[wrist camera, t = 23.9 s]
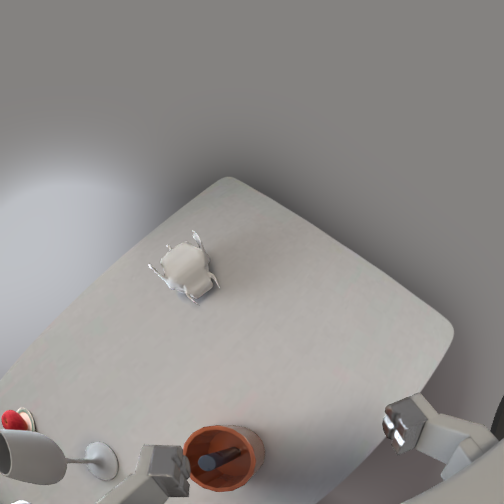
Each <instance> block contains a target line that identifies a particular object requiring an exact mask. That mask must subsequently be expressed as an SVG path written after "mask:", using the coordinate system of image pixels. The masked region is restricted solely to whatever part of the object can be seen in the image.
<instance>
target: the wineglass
mask: <svg viewBox="0 0 504 504" xmlns="http://www.w3.org/2000/svg"><path fill="white" fill-rule="evenodd" d="M68 463H86V464H87V466H88V468H89V470H90V471H91V472H92V474H93V475H95V476H96V477H97V478H99V479H102V480H110V479H113V478H114V477H115V476H116V474H117V472H118V460H117V457H116V455H115V453H114V452H113V450H112V449H111V448H110V447H109V446H108V445H106V444H104V443H102V442H93V443H91V444H89V445H88V447H87V448H86V452H85V459H69V458H65V456H64V453H63V452H62V450H61V449H60V448H59V446H58V445H57V444H56V443H55V442H54V441H53V440H51V439H50V438H48V437H47V436H45V435H43V434H40V433H37V432H33V431H24V430H9V429H0V473H1V474H2V475H4V476H6V477H9V478H12V479H16V480H19V481H23V482H28V483H33V484H39V485H50V484H55V483H57V482H59V481H60V480H61V479H63V477H64V475H65V473H66V470H67V464H68Z"/></svg>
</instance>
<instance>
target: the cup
mask: <svg viewBox="0 0 504 504" xmlns="http://www.w3.org/2000/svg"><path fill="white" fill-rule="evenodd" d="M231 447H237V448H238V449H239V450H240V452H241V454H240V456H239V457H238V458H236V459H234V460H232V461H230V462H228V463H226V464H224V465H222V466H220V467H218V468H216V469H214V470H212V471H204V470H202V469H201V468H200V466H199V464H198V460H199V458H200V457H201V456H203V455H207V454H211V453H214V452H218V451H221V450H224V449H228V448H231ZM183 455H185V456H187V458H188V460H189V462H190V468H191V475H190V478H191V479H192V480H193V481H194V482H196V483H197V484H198V485H200V486H201V487H203V488H205V489H209V490H212V491H216V492H225V491H233V490H235V489H237V488H239V487H241V486H243V485H245V484H246V483H247V482H248V481H249V480H250V479H251V478H252V477H253V475H254V474H255V473H256V472H257V471H258V470H259V469H260V467H261V466H262V465H263V462H264V459H265V447H264V444H263V442H262V440H261V439H260V437H259V436H258V435H257V434H256V433H255V432H253V431H252V430H250V429H248V428H246V427H242V426H236V425H216V426H208V427H203V428H201V429H199V430H197V431H196V432H194V433H192V434H191V436H190V437H189V438H188V439H187V441H186V442H185V444H184V447H183Z"/></svg>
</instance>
